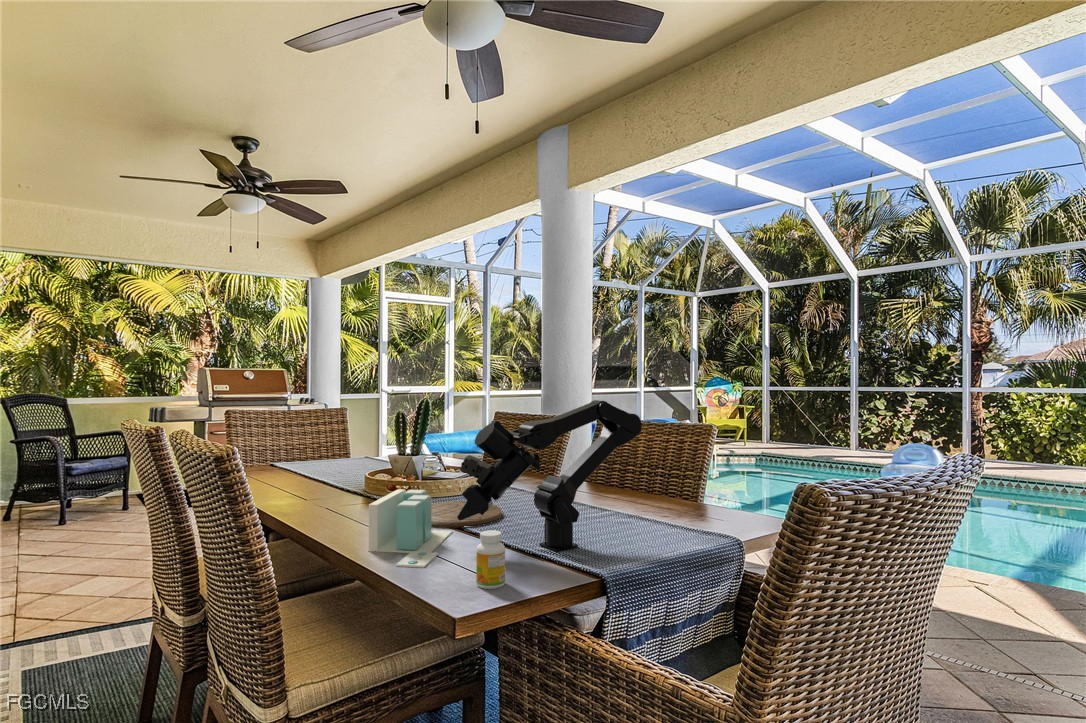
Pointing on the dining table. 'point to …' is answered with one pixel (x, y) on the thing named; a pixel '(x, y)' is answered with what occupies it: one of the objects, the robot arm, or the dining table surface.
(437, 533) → the l-shaped bookend
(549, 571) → the dining table surface
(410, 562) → the card
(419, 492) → the teal rectangular block
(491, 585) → the supplement bottle
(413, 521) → the teal tall block
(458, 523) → the trivet
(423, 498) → the teal upright block
